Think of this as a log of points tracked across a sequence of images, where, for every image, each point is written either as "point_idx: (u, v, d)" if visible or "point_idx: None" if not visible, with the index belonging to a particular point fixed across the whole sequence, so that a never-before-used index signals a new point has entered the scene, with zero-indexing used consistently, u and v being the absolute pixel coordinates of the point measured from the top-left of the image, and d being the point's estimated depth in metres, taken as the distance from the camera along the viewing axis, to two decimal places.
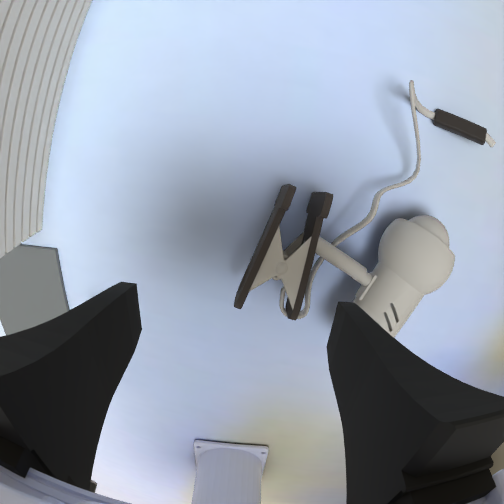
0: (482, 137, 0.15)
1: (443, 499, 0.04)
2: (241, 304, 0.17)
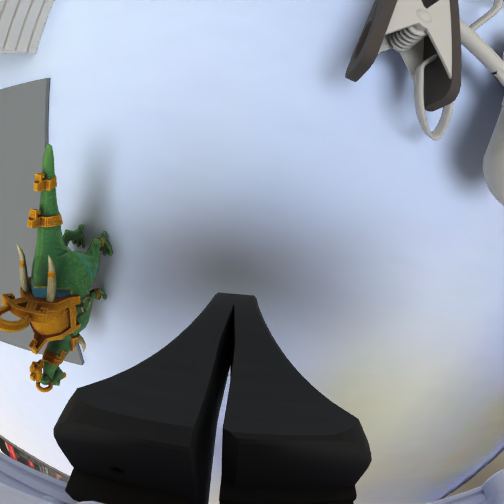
0: None
1: None
2: (376, 50, 0.08)
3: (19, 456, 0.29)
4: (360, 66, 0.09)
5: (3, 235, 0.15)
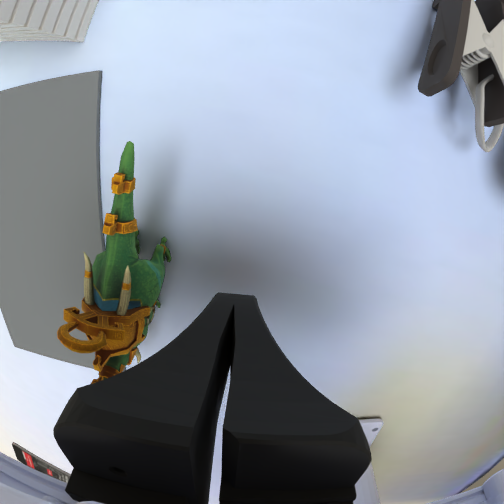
0: None
1: None
2: (457, 71, 0.08)
3: (37, 465, 0.29)
4: (440, 84, 0.08)
5: (40, 240, 0.15)
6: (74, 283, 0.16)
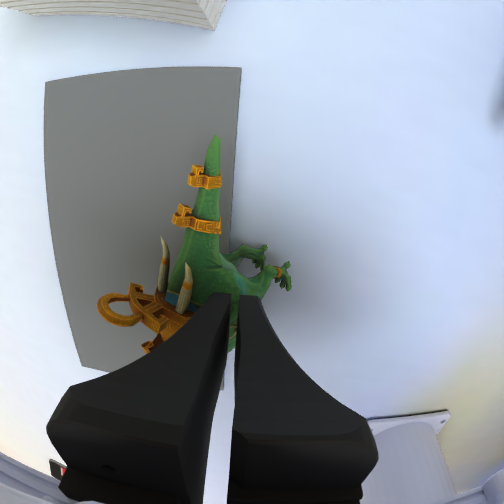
0: None
1: None
2: None
3: None
4: None
5: (143, 250, 0.16)
6: None
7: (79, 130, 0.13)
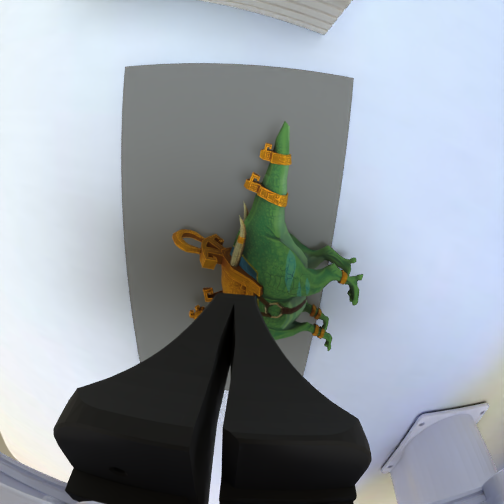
0: None
1: None
2: None
3: None
4: None
5: None
6: None
7: (171, 124, 0.13)
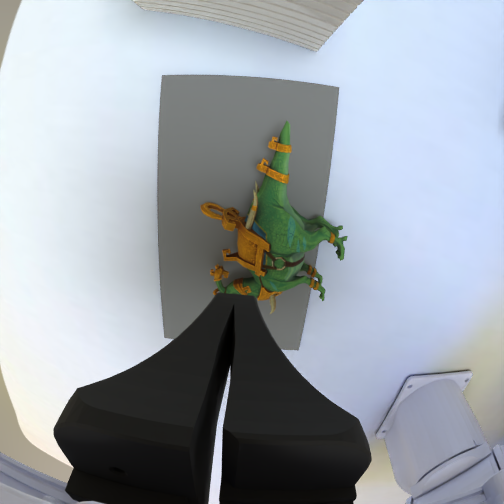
0: None
1: None
2: None
3: None
4: None
5: None
6: None
7: (199, 122, 0.17)
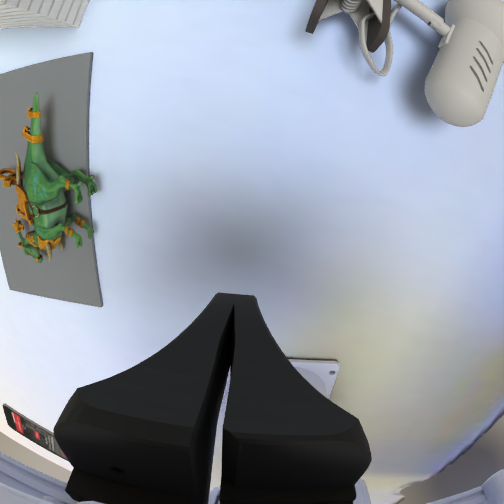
0: None
1: None
2: (321, 6, 0.11)
3: (25, 428, 0.33)
4: (312, 19, 0.11)
5: None
6: None
7: (5, 107, 0.16)
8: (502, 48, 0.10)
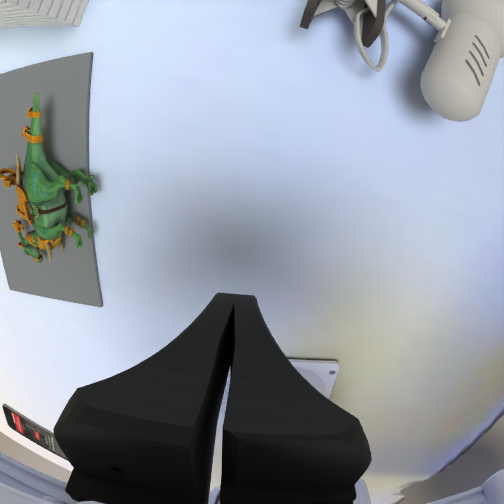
0: None
1: None
2: (315, 1, 0.11)
3: (25, 428, 0.33)
4: (306, 14, 0.11)
5: None
6: None
7: (5, 107, 0.16)
8: (499, 43, 0.10)
